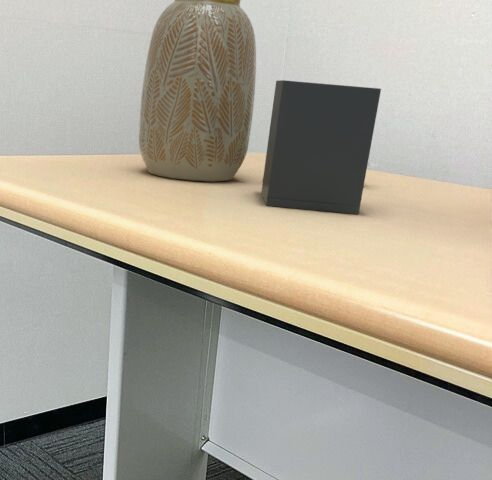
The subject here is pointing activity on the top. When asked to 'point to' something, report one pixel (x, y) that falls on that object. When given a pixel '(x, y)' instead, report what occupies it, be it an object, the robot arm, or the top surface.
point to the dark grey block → (319, 146)
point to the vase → (198, 91)
